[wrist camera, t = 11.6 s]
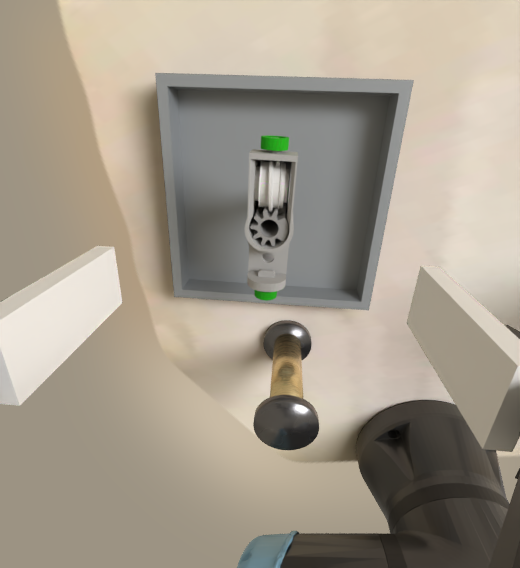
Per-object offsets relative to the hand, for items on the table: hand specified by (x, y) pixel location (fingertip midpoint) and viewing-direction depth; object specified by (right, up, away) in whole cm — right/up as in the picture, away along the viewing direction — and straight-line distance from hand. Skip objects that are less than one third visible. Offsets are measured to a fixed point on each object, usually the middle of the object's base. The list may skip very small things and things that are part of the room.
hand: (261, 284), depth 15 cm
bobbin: (+3, -6, +22) cm, 23 cm away
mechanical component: (+1, +8, +15) cm, 17 cm away
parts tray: (+1, +8, +15) cm, 17 cm away
